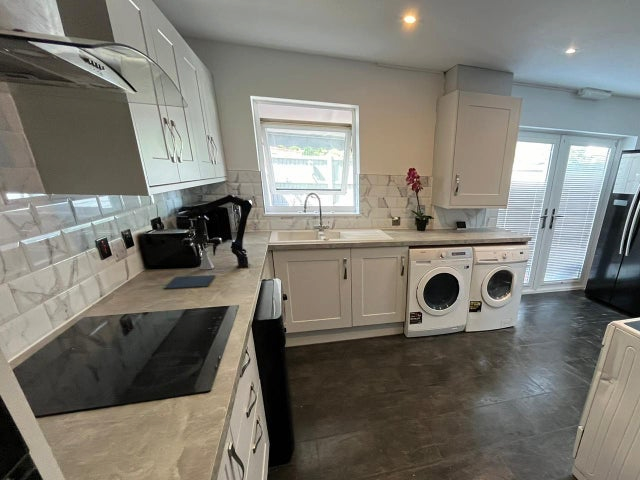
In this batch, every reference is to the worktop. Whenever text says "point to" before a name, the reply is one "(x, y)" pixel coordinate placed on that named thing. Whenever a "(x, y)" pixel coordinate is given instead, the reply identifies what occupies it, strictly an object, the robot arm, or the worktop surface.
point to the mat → (190, 282)
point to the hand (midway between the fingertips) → (205, 256)
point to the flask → (206, 261)
